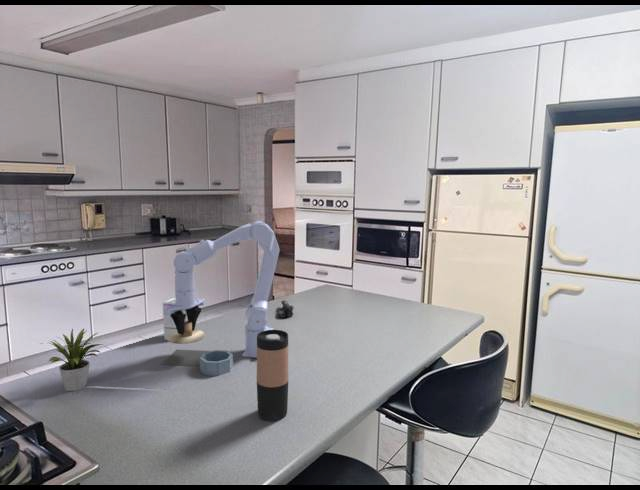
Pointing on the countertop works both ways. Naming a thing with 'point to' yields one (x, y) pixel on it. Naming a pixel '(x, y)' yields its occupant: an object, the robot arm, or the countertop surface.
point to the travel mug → (272, 374)
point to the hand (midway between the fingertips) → (186, 331)
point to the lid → (186, 335)
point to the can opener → (286, 310)
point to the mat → (184, 358)
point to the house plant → (74, 361)
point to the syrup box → (169, 319)
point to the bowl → (216, 362)
